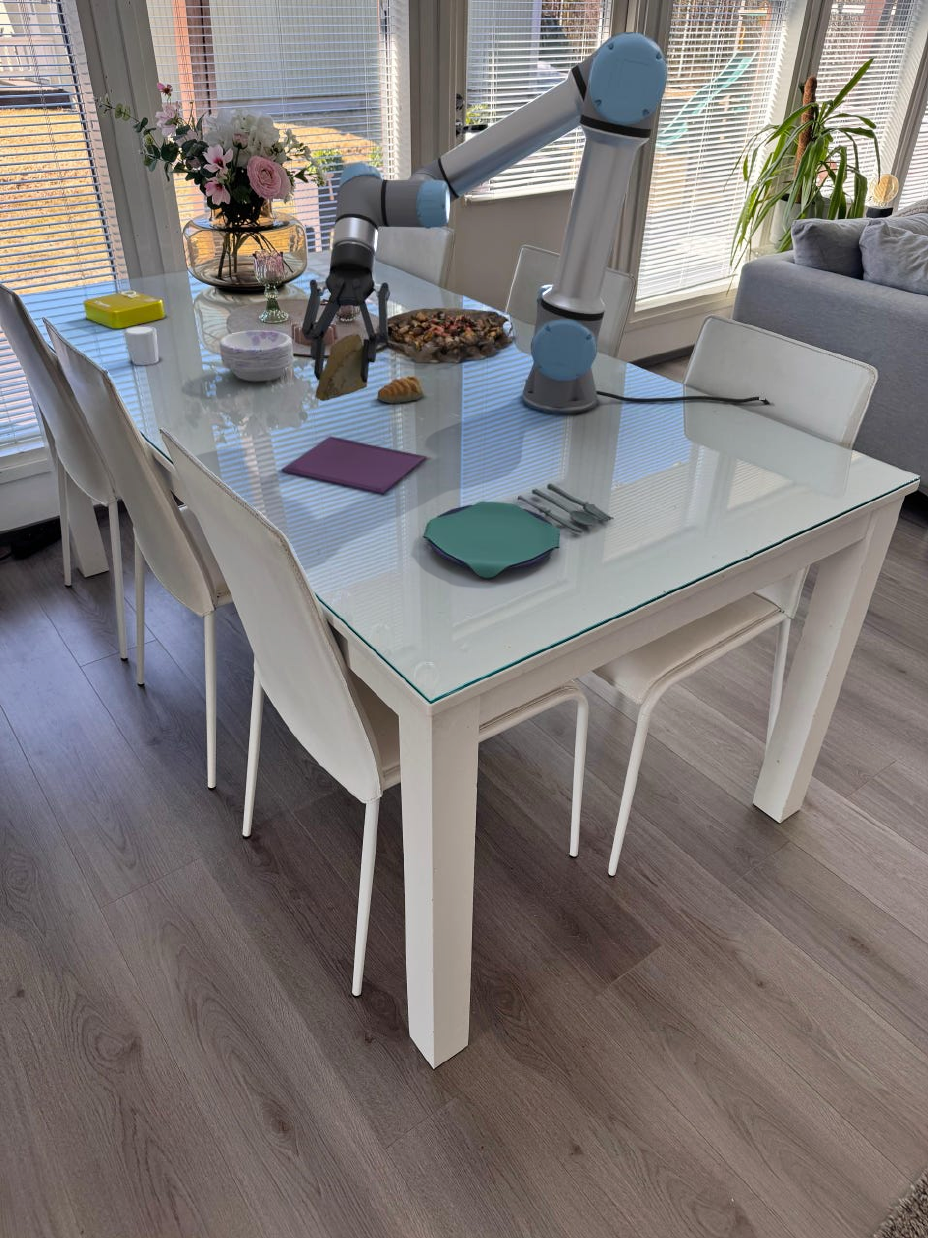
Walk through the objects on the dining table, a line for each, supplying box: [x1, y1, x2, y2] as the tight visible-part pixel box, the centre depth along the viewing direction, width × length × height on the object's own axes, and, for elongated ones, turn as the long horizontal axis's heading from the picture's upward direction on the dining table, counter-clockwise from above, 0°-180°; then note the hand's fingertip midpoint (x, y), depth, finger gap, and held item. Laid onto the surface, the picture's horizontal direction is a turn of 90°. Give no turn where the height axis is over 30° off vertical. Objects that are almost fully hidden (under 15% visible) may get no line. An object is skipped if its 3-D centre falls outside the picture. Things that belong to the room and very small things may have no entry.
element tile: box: [82, 290, 166, 330], centre depth 226 cm, size 15×15×5 cm
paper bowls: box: [219, 329, 294, 383], centre depth 192 cm, size 15×15×8 cm
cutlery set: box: [422, 482, 615, 579], centre depth 137 cm, size 20×30×2 cm, turn 128°
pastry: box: [377, 376, 424, 404], centre depth 183 cm, size 9×7×4 cm
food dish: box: [375, 307, 514, 364], centre depth 215 cm, size 35×33×8 cm
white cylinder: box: [123, 325, 159, 366], centre depth 199 cm, size 7×7×7 cm
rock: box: [314, 333, 368, 402], centre depth 152 cm, size 11×9×10 cm
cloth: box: [281, 436, 427, 495], centre depth 157 cm, size 20×16×1 cm
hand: (340, 377), depth 149 cm, fingers closed on rock, 7 cm apart
